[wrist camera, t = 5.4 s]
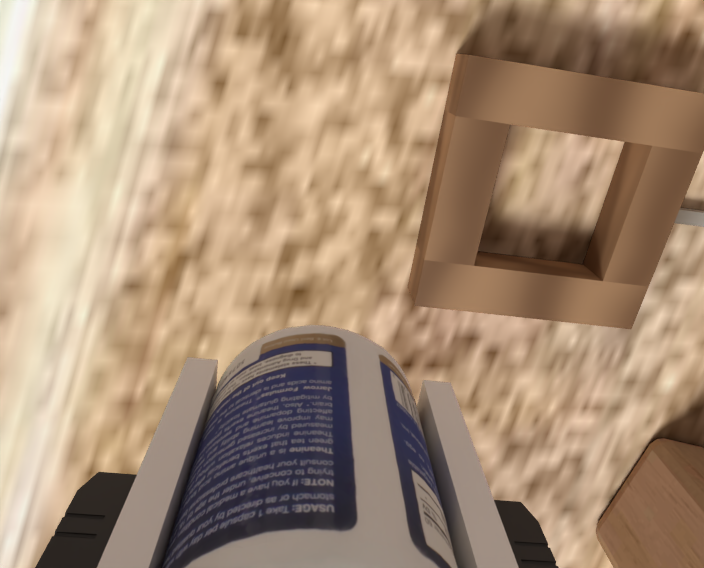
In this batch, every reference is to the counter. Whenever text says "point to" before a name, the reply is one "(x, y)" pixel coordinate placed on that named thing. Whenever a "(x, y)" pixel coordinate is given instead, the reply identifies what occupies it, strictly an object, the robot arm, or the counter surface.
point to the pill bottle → (311, 463)
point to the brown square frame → (617, 212)
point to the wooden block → (658, 511)
